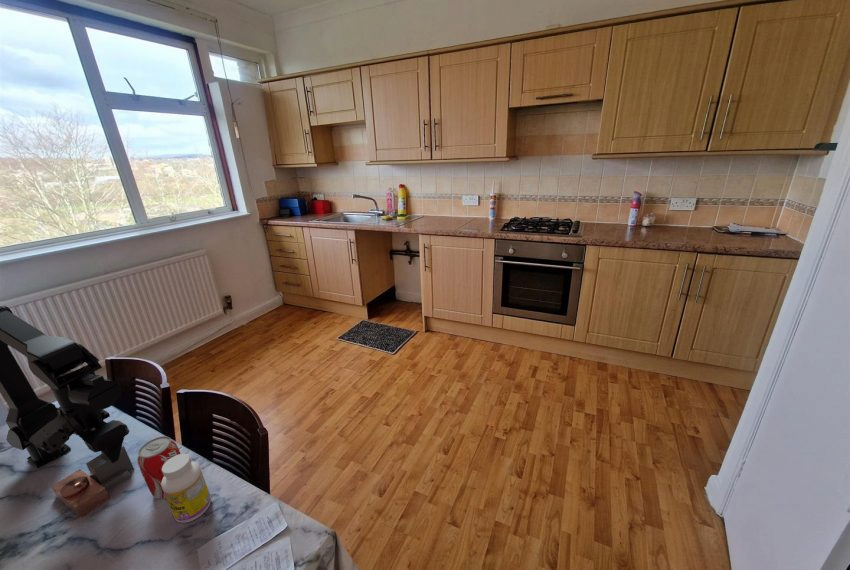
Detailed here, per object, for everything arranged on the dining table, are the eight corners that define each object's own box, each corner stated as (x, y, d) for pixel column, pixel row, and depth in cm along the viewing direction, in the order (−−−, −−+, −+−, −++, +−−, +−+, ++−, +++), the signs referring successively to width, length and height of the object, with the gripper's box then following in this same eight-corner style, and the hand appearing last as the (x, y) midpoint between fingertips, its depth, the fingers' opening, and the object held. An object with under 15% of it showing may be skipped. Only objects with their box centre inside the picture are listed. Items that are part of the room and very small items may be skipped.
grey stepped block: (95, 483, 81) (83, 459, 78) (125, 463, 86) (115, 440, 83) (104, 489, 79) (91, 465, 76) (134, 469, 84) (123, 446, 81)
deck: (56, 496, 78) (48, 483, 76) (110, 462, 86) (104, 450, 85) (81, 518, 72) (73, 504, 71) (135, 480, 81) (129, 467, 79)
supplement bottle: (168, 516, 72) (147, 470, 67) (199, 490, 77) (182, 445, 73) (188, 529, 69) (168, 482, 65) (218, 501, 75) (202, 455, 70)
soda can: (171, 504, 74) (153, 461, 70) (144, 499, 76) (125, 457, 72) (197, 476, 81) (182, 435, 77) (172, 472, 82) (156, 432, 78)
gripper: (7, 410, 72) (41, 467, 77) (45, 438, 64) (79, 500, 69) (77, 380, 81) (102, 433, 86) (117, 401, 73) (142, 458, 78)
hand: (105, 454), depth 80 cm, fingers open, 9 cm apart
